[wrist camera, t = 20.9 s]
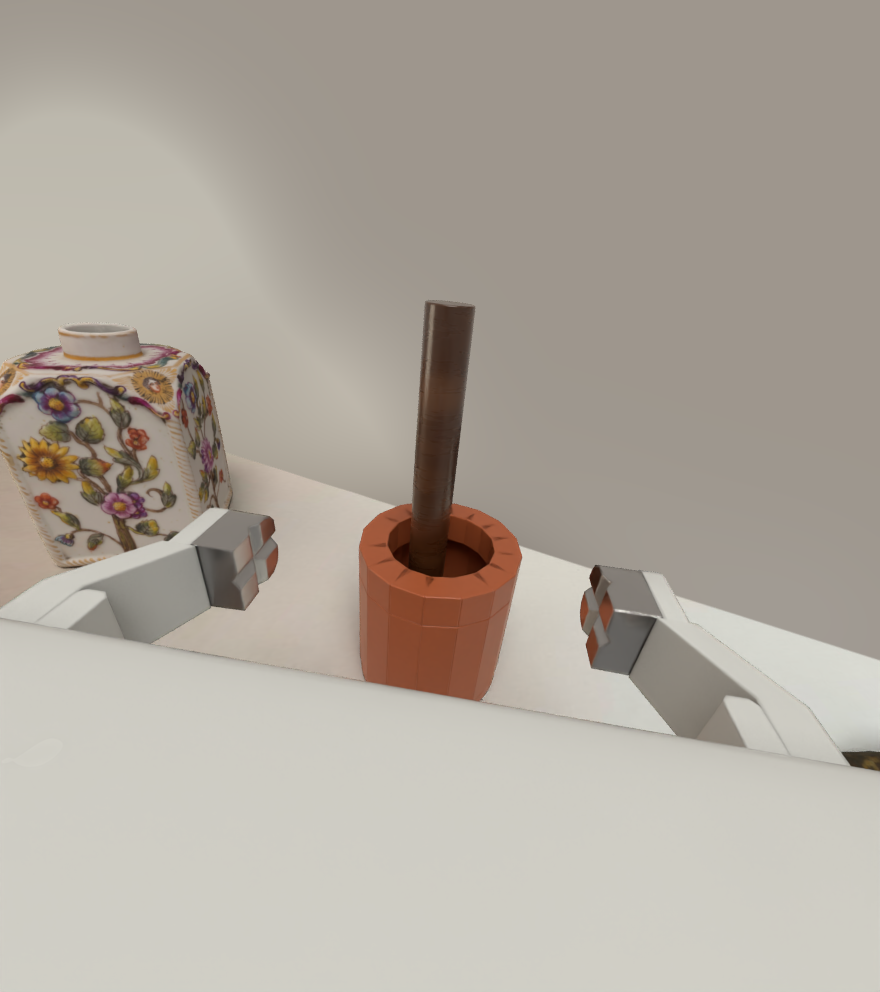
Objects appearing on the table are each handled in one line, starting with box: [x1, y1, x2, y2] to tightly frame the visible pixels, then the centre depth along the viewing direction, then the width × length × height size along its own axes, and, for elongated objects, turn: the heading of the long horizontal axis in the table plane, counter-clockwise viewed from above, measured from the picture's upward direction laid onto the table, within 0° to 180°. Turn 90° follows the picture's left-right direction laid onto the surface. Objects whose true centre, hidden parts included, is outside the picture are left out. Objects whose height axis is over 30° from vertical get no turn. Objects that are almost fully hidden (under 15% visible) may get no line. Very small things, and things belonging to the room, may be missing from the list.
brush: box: [408, 300, 475, 577], centre depth 23 cm, size 3×3×22 cm
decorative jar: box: [0, 323, 233, 567], centre depth 35 cm, size 12×12×18 cm
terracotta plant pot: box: [359, 504, 522, 701], centre depth 27 cm, size 9×9×10 cm
